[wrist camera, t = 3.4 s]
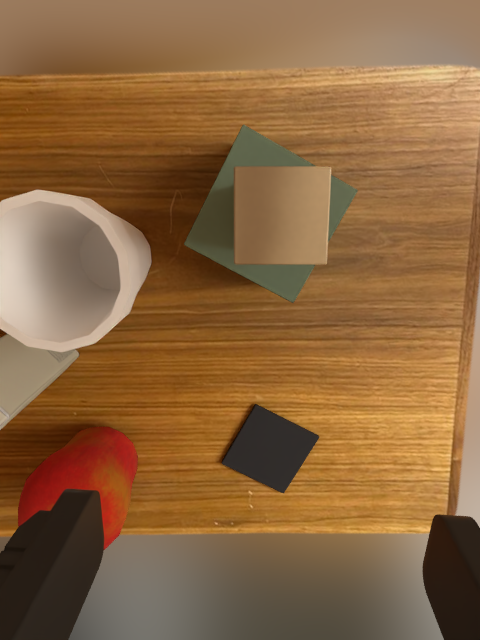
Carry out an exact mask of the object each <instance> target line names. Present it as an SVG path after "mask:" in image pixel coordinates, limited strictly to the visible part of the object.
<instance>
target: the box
mask: <svg viewBox="0 0 480 640" xmlns="http://www.w3.org/2000/svg"><path fill="white" fill-rule="evenodd" d="M78 356H79V353H78V352H77V351H76V350H75V349H72V350H69V351H65V352H57V351H52V350H46V349H40V348H34V347H28V346H26V345H24V344H23V343H21V342H20V341H18V340H17V339H15V338H14V337H12V336H11V335H9V334H6V335H4V336H2V337H1V338H0V430H1V429H2V428H3V427H4V426H5V425H6V424H7V423H8V422H10V421H11V420H12V419H13V418H14V417H15V416H16V415H17V414H18V413H19V412H20V411H21V410H23V409H24V408H25V407H26V406H27V405H28V404H29V403H30V402H31V401H32V400H33V399H35V398H36V397H37V396H38V395H39V394H40V393H41V392H42V391H43V390H45V389H46V388H47V387H48V386H49V385H50V384H51V383H52V382H53V381H54V380H56V379H57V378H58V377H59V376H60V375H61V374H62V373H63V372H64V371H65V370H66V369H67V368H68V367H69V366H70V365H71V364H72V363H73V362H74V361H75V360H76V359H77V357H78Z"/></svg>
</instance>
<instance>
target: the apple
mask: <svg viewBox="0 0 480 640" xmlns="http://www.w3.org/2000/svg"><path fill="white" fill-rule="evenodd" d="M137 462H138V456H137V453H136V450H135V447H134V445H133V443H132V442H131V441H130V440H129V439H128V438H127V437H126V436H125V435H124V434H123V433H122V432H119V431H117V430H115V429H112V428H110V427H91V428H88V429H85V430H81V431H79V432H78V433H77V434H76V435H75V436H74V437H73V438H72V439H71V440H70V441H69V442H68V443H67V444H66V445H65V446H64V447H63V448H61V449H59V450H58V451H56V452H55V453H53V454H51V455H50V456H49V457H48V458H47V459H46V460H45V461H43V462H42V463H41V464H40V465H39V466H38V467H37V468H36V469H35V471H34V472H33V473H32V474H31V475H30V476H29V477H28V478H27V479H26V482H25V485H24V488H23V490H22V493H21V497H20V502H19V507H18V526H20V525H22V524H23V523H24V522H25V521H27V520H28V519H29V518H30V517H32V516H33V515H34V514H35V513H37V512H38V511H39V510H46V511H51V509H52V508H53V506H54V504H55V503H56V501H57V500H58V498H59V497H60V495H61V494H62V492H63V491H64V490H65V489H83V490H97V491H98V492H99V494H100V499H101V509H102V520H103V530H104V550H105V549H106V548H107V547H108V546H109V545H110V544H111V543H112V542H113V541H114V540H115V539H116V538H117V537H118V536H119V534H120V532H121V529H122V527H123V524H124V522H125V519H126V516H127V513H128V509H129V505H130V499H131V488H132V483H133V480H134V477H135V474H136V471H137Z"/></svg>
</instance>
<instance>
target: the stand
mask: <svg viewBox="0 0 480 640" xmlns="http://www.w3.org/2000/svg"><path fill="white" fill-rule="evenodd" d="M236 166H315V165H313V164H311V163H310V162H308V161H306V160H304V159H303V158H301V157H299V156H297V155H296V154H294V153H292V152H291V151H289V150H287V149H285V148H284V147H282V146H280V145H278V144H277V143H275V142H273V141H271V140H270V139H268V138H266V137H264V136H263V135H261V134H259V133H257V132H256V131H254V130H252V129H250V128H249V127H247V126H245V125H242V127H241V130H240V132H239V134H238V136H237V138H236V140H235V142H234V144H233V146H232V148H231V150H230V152H229V154H228V156H227V158H226V160H225V162H224V164H223V166H222V168H221V170H220V172H219V174H218V176H217V178H216V180H215V182H214V184H213V186H212V188H211V190H210V192H209V194H208V196H207V198H206V200H205V202H204V204H203V206H202V208H201V210H200V212H199V214H198V216H197V219H196V221H195V223H194V225H193V227H192V229H191V231H190V233H189V235H188V237H187V239H186V241H185V243H184V245H185V246H187V247H189V248H191V249H193V250H194V251H196V252H198V253H200V254H202V255H204V256H206V257H208V258H210V259H211V260H213V261H215V262H217V263H219V264H221V265H223V266H225V267H226V268H228V269H230V270H232V271H234V272H236V273H238V274H240V275H241V276H243V277H245V278H247V279H249V280H251V281H253V282H255V283H256V284H258V285H260V286H262V287H264V288H266V289H268V290H270V291H271V292H273V293H275V294H277V295H279V296H281V297H283V298H285V299H286V300H288V301H290V302H292V303H294V301H295V299H296V298H297V296H298V294H299V292H300V291H301V289H302V287H303V285H304V284H305V282H306V280H307V278H308V277H309V275H310V273H311V272H312V270H313V268H314V266H315V265H249V264H234V167H236ZM357 191H358V190H357V189H355V188H353V187H352V186H350V185H348V184H346V183H345V182H343V181H341V180H339V179H338V178H336V177H334V176H332V175H331V189H330V210H329V231H328V242H329V240H330V238H331V237H332V235H333V233H334V231H335V230H336V228H337V226H338V224H339V223H340V221H341V219H342V217H343V216H344V214H345V212H346V210H347V209H348V207H349V205H350V203H351V202H352V200H353V198H354V196H355V195H356V193H357Z"/></svg>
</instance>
